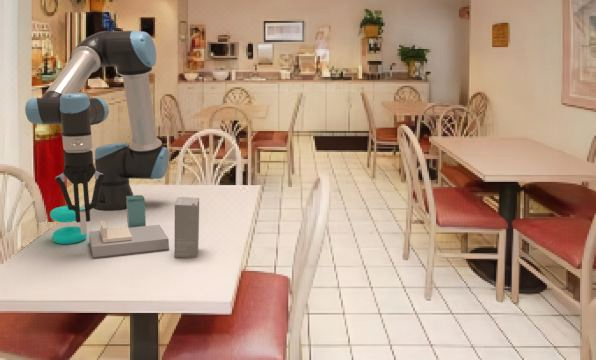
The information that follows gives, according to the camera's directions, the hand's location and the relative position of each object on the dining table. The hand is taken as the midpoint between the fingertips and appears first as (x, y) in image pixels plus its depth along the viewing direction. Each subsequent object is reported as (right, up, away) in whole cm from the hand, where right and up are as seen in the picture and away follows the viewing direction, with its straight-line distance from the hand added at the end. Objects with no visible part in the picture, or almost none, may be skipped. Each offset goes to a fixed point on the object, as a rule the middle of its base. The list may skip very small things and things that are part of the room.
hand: (83, 232), depth 175 cm
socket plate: (+10, -5, +8) cm, 14 cm away
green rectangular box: (+10, -2, +21) cm, 23 cm away
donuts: (-9, -4, +15) cm, 18 cm away
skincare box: (+29, -6, +2) cm, 30 cm away
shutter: (+7, -1, +6) cm, 10 cm away
